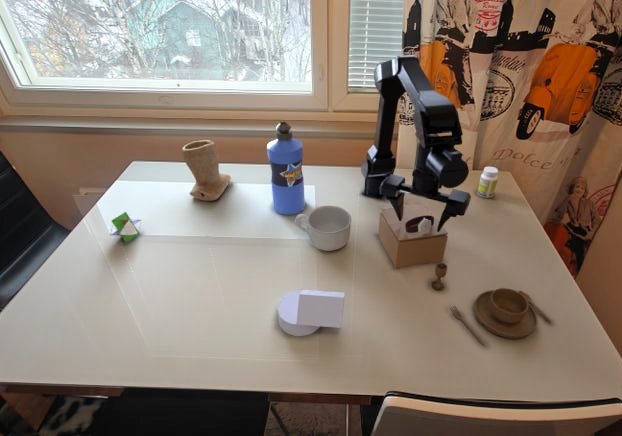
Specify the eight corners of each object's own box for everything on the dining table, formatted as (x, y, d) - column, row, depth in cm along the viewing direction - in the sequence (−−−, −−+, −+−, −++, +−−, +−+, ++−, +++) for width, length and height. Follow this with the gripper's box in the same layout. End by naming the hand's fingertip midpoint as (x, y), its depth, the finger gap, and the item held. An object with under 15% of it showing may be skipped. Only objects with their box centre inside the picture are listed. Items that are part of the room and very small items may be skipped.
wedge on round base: (344, 304, 81) (283, 299, 82) (345, 280, 77) (281, 276, 78) (341, 339, 74) (274, 334, 75) (341, 315, 70) (271, 310, 71)
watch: (412, 239, 86) (414, 226, 84) (399, 228, 89) (400, 215, 87) (438, 228, 89) (440, 215, 87) (424, 218, 93) (426, 206, 91)
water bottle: (311, 208, 111) (308, 125, 97) (282, 218, 107) (274, 133, 93) (295, 194, 118) (290, 114, 103) (267, 203, 113) (258, 121, 99)
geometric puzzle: (100, 232, 98) (105, 216, 92) (123, 218, 103) (129, 202, 97) (122, 252, 98) (128, 237, 93) (143, 237, 103) (150, 222, 98)
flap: (380, 210, 96) (380, 209, 96) (424, 204, 98) (424, 203, 98) (388, 225, 91) (388, 224, 91) (435, 219, 94) (435, 217, 93)
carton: (377, 235, 101) (380, 209, 96) (420, 229, 103) (424, 203, 98) (395, 268, 90) (398, 240, 86) (442, 260, 93) (448, 233, 88)
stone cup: (200, 177, 126) (190, 133, 118) (235, 179, 125) (228, 135, 117) (179, 201, 114) (167, 155, 106) (218, 204, 113) (209, 157, 104)
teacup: (356, 237, 100) (358, 211, 96) (339, 262, 92) (339, 235, 88) (309, 224, 105) (308, 198, 100) (289, 246, 97) (286, 220, 92)
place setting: (489, 355, 71) (496, 334, 68) (426, 284, 86) (430, 264, 83) (558, 325, 77) (568, 304, 73) (488, 263, 92) (494, 244, 88)
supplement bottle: (491, 190, 120) (497, 166, 115) (494, 198, 116) (501, 173, 111) (475, 189, 120) (481, 165, 116) (478, 197, 117) (484, 172, 112)
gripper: (482, 158, 82) (468, 218, 91) (399, 141, 89) (393, 199, 98) (471, 181, 74) (456, 245, 83) (381, 160, 81) (376, 221, 90)
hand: (419, 225), depth 89 cm, fingers open, 9 cm apart
